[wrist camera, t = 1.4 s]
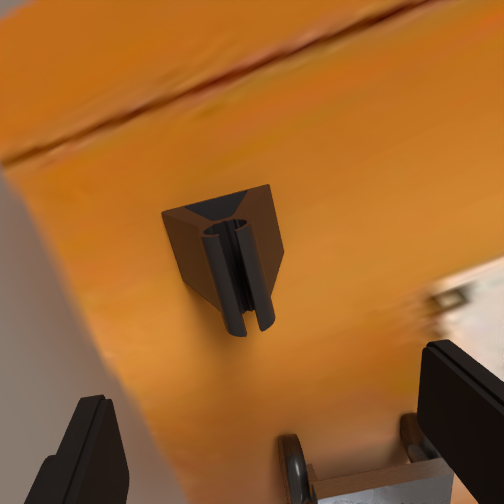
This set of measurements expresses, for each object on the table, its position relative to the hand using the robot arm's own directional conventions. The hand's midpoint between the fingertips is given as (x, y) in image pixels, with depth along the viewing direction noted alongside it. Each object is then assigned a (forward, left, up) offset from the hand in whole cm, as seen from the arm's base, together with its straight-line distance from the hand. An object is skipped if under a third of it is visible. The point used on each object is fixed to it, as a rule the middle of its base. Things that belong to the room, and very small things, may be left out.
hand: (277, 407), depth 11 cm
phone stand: (0, 0, -21) cm, 21 cm away
